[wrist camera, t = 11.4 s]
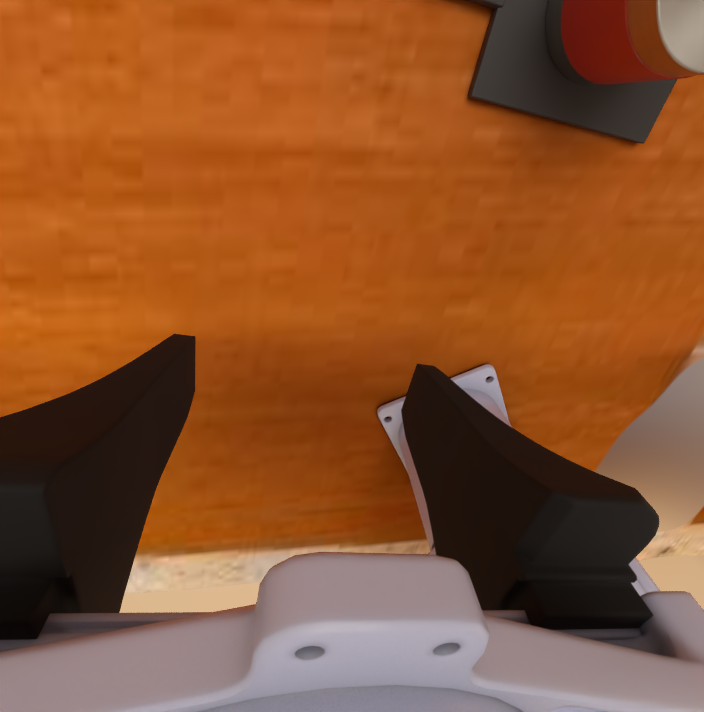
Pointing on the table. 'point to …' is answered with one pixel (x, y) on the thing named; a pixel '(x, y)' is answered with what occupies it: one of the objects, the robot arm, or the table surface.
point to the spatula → (555, 78)
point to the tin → (626, 39)
